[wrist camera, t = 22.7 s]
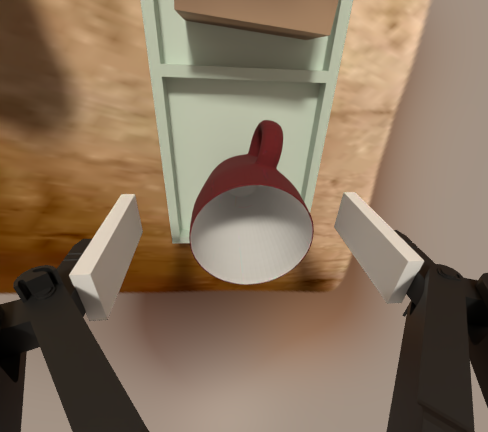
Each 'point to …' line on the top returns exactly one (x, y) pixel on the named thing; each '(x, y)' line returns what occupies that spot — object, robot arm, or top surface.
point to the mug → (251, 216)
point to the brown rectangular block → (264, 15)
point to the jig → (236, 99)
